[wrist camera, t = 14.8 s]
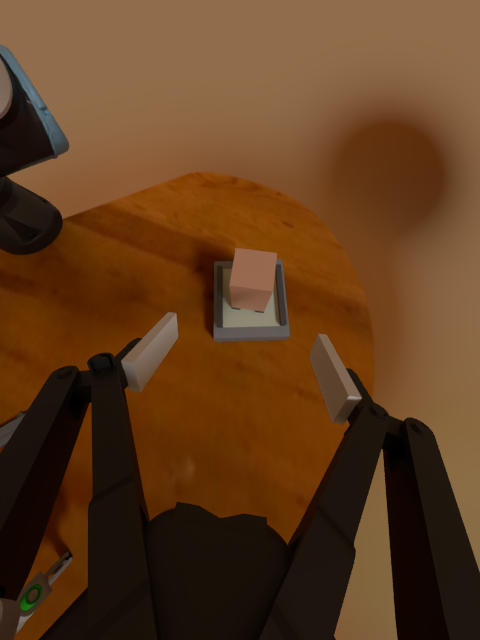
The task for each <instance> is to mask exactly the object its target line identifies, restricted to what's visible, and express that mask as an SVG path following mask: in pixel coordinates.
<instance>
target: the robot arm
mask: <svg viewBox="0 0 480 640" xmlns="http://www.w3.org/2000/svg"><path fill="white" fill-rule="evenodd" d="M68 149H69V142H68V140H67V138H66V136H65V135H64V133H63V131H62V130H61V129H60V127H59V125H58V124H57V122H56V121H55V119H54V117H53V116H52V114H51V113H50V111H49V110H48V108H47V106H46V105H45V103H44V102H43V100H42V99H41V97H40V95H39V94H38V92H37V91H36V89H35V87H34V86H33V84H32V83H31V81H30V80H29V78H28V76H27V75H26V73H25V72H24V70H23V69H22V67H21V66H20V64H19V63H18V61H17V60H16V58H15V57H14V55H13V54H12V52H11V51H10V50H9V49H8V48H7V47H5V46H3V45H0V249H2V250H4V251H6V252H8V253H11V254H16V255H24V254H30V253H34V252H36V251H39V250H41V249H43V248H44V247H46V246H47V245H49V244H50V243H51V242H52V241H53V240H54V239H55V238H56V237H57V235H58V234H59V232H60V230H61V227H62V216H61V214H60V212H59V211H58V209H57V208H56V207H54V206H53V205H52V204H51V203H50V202H49V201H47V200H46V199H44V198H42V197H41V196H39V195H37V194H35V193H33V192H31V191H30V190H28V189H26V188H24V187H22V186H20V185H19V184H17V183H15V182H13V181H12V180H10V179H9V178H8V177H7V175H10V174H12V173H15V172H17V171H20V170H22V169H25V168H28V167H30V166H33V165H36V164H39V163H42V162H44V161H47V160H50V159H52V158H53V159H55V158H57V157H58V155H60V154H63V153H65V152H66V151H68ZM177 338H178V328H177V315H176V313H171V312H168V313H167V314H166V315H165V316H164V317H163V318H162V319H161V320H160V321H159V322H158V323H157V324H156V325H155V326H154V327H153V328H152V329H151V330H150V331H149V332H148V333H147V335H146V336H145V337H144V338H143V339H142V338H136V339H135V340H133V341H131V342H130V343H129V344H128V345H127V346H126V347H125V348H124V349H123V350H122V351H121V352H120V353H118V354H117V355H116V356H115V357H114V356H113V354H111V353H100V354H97V355H95V356H93V357H91V358H90V359H89V360H88V362H87V365H88V367H89V369H90V370H88V371H79V370H78V368H77V367H76V366H65V367H62V368H59V369H57V370H56V371H54V372H53V373H52V374H51V375H50V376H49V378H48V379H47V381H46V382H45V384H44V385H43V387H42V389H41V390H40V392H39V393H38V395H37V397H36V398H35V400H34V401H33V403H32V404H31V406H30V408H29V409H28V411H27V412H26V414H25V416H24V417H23V419H22V420H21V422H20V423H19V425H18V427H17V428H16V430H15V431H14V433H13V434H12V436H11V438H10V439H9V441H8V442H7V444H6V446H5V447H4V449H3V450H2V452H1V453H0V640H13V639H14V637H15V634H16V630H17V627H18V624H19V619H20V614H21V613H20V606H19V604H18V603H17V599H18V597H19V595H20V592H21V590H22V588H23V586H24V584H25V582H26V580H27V577H28V575H29V573H30V570H31V568H32V565H33V563H34V560H35V557H36V555H37V552H38V549H39V547H40V544H41V541H42V538H43V535H44V532H45V529H46V526H47V523H48V521H49V518H50V515H51V512H52V509H53V506H54V503H55V500H56V497H57V495H58V492H59V489H60V486H61V483H62V480H63V477H64V474H65V471H66V469H67V466H68V463H69V460H70V457H71V454H72V451H73V448H74V446H75V443H76V440H77V437H78V434H79V431H80V428H81V425H82V422H83V420H84V417H85V414H86V411H87V408H88V405H89V403H90V402H92V469H93V497H92V500H91V501H90V503H89V508H88V587H87V588H86V589H85V590H84V592H83V593H82V594H81V595H80V596H79V597H78V598H77V599H76V600H75V601H74V602H73V603H72V604H71V605H70V607H69V608H68V609H67V610H66V611H65V612H64V613H63V614H62V615H61V616H60V617H59V618H58V619H57V620H56V621H55V623H54V624H53V625H52V626H51V627H50V628H49V629H48V630H47V631H46V632H45V633H44V634H43V635H42V636H41V637H40V639H39V640H336V639H335V637H334V633H335V630H336V626H337V622H338V618H339V615H340V611H341V608H342V604H343V600H344V597H345V593H346V590H347V586H348V582H349V579H350V575H351V571H352V568H353V564H354V560H355V553H356V550H355V548H354V540H355V536H356V533H357V530H358V526H359V523H360V519H361V516H362V512H363V509H364V506H365V502H366V499H367V496H368V492H369V489H370V485H371V482H372V478H373V475H374V472H375V468H376V465H377V462H378V458H379V455H380V452H381V449H383V457H384V471H385V484H386V498H387V511H388V524H389V538H390V551H391V565H392V578H393V591H394V605H395V619H396V628H397V637H398V640H480V572H479V569H478V566H477V563H476V560H475V557H474V554H473V551H472V548H471V545H470V542H469V539H468V536H467V533H466V530H465V527H464V524H463V521H462V518H461V515H460V511H459V508H458V505H457V502H456V499H455V497H454V493H453V490H452V487H451V484H450V481H449V478H448V475H447V472H446V469H445V466H444V463H443V460H442V457H441V454H440V451H439V448H438V445H437V442H436V439H435V436H434V434H433V432H432V431H431V430H430V429H429V427H428V426H426V425H425V424H424V423H422V422H421V421H419V420H417V419H414V418H406V419H405V420H404V421H401V420H399V419H396V418H394V417H391V416H389V414H388V412H387V411H386V410H385V409H384V408H382V407H381V406H380V405H378V404H376V403H374V402H373V400H372V399H371V397H370V395H369V394H368V392H367V390H366V389H365V387H364V386H363V384H362V382H361V381H360V379H359V377H358V376H357V374H356V373H355V372H354V371H353V370H351V369H348V368H345V367H344V365H343V363H342V361H341V360H340V358H339V356H338V354H337V352H336V351H335V349H334V347H333V345H332V343H331V342H330V340H329V338H328V336H327V335H325V334H318V335H317V338H316V340H315V343H314V345H313V348H312V350H311V353H310V355H309V358H310V361H311V364H312V366H313V369H314V372H315V375H316V378H317V381H318V384H319V387H320V389H321V392H322V395H323V398H324V401H325V404H326V407H327V410H328V412H329V415H330V418H331V421H332V423H337V424H343V425H344V423H345V422H346V420H347V419H348V422H349V424H350V426H349V427H348V429H347V430H346V431H345V433H344V437H343V439H342V441H341V443H340V445H339V447H338V449H337V451H336V453H335V455H334V457H333V459H332V461H331V463H330V465H329V467H328V469H327V471H326V473H325V475H324V477H323V479H322V481H321V482H320V484H319V486H318V488H317V490H316V492H315V494H314V496H313V498H312V500H311V502H310V504H309V506H308V508H307V510H306V512H305V514H304V516H303V518H302V520H301V522H300V524H299V526H298V528H297V529H296V531H295V532H294V534H293V536H292V538H291V539H290V541H289V543H288V545H287V544H286V542H285V541H284V540H283V538H282V537H281V536H280V535H279V534H278V533H277V532H276V531H275V530H274V529H273V528H271V527H270V526H268V525H267V518H266V517H260V516H255V515H249V514H240V515H235V516H230V517H225V518H219V517H217V516H215V515H213V514H212V513H210V512H208V511H207V510H205V509H203V508H202V507H200V506H198V505H192V504H187V503H181V502H177V503H176V507H175V508H173V509H170V510H167V511H164V512H163V513H161V514H159V515H157V516H156V517H155V518H153V519H152V520H151V521H150V520H149V515H148V510H147V506H146V502H145V498H144V493H143V488H142V482H141V477H140V471H139V466H138V460H137V455H136V449H135V444H134V439H133V433H132V428H131V422H130V417H129V411H128V406H127V400H126V395H125V391H124V390H125V388H126V387H127V386H128V387H129V390H130V391H134V392H141V391H142V390H143V388H144V387H145V385H146V384H147V382H148V381H149V379H150V378H151V376H152V375H153V373H154V372H155V371H156V369H157V368H158V366H159V365H160V363H161V362H162V360H163V359H164V357H165V356H166V354H167V353H168V351H169V350H170V349H171V347H172V346H173V344H174V343H175V341H176V340H177Z"/></svg>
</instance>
